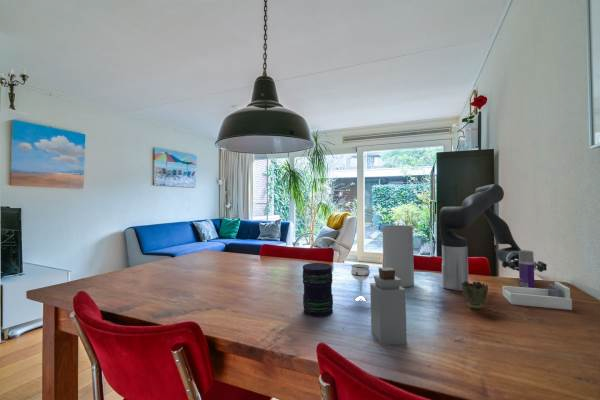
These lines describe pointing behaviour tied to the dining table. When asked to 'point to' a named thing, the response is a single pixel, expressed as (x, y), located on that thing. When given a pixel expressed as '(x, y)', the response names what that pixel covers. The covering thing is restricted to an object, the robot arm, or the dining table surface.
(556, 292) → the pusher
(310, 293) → the storage jar
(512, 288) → the white drawer
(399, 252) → the grey rectangular pillar
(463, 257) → the robot arm
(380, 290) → the perfume bottle
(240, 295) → the dining table surface
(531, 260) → the container
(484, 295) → the cup
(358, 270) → the wineglass
